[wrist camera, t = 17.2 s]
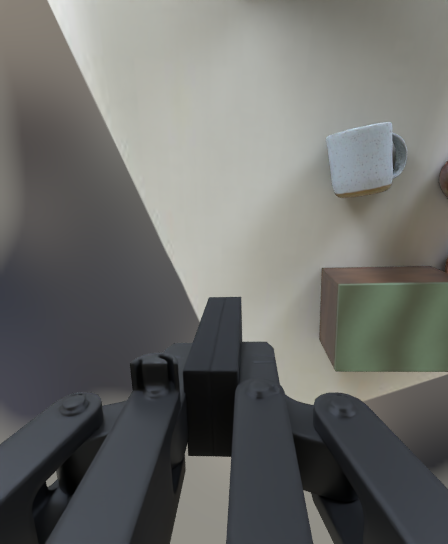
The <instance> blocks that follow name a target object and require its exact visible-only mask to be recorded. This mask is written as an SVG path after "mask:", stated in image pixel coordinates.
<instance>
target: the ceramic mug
mask: <svg viewBox="0 0 448 544" xmlns="http://www.w3.org/2000/svg"><path fill="white" fill-rule="evenodd" d="M326 141H327V148H328V156H329V164H330V170H331V179H332V186H333V189H334V193H335V195H336V196H338V197H340V198H349V197H358V196H364V195H371V194H375V193H379V192H383V191H386V190H387V189H389V188H390V186H391V183H392V179H393V178H395V177H397V176H398V175H400V174H401V172H402V171H403V169H404V167H405V165H406V161H407V147H406V144H405V141H404V140H403V139H402V137H400V136H399V135H397V134H395V133H392V123H391V122H384V123H376V124H372V125H368V126H363V127H359V128H354V129H349V130H345V131H342V132H339V133H335V134H333V135H330V136H328V137H327V138H326ZM392 142H393V143H394V145H395V148H396V162H395V168H394V170H393V164H392Z"/></svg>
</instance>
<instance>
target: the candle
mask: <svg viewBox="0 0 448 544" xmlns="http://www.w3.org/2000/svg"><path fill="white" fill-rule="evenodd" d="M439 183H440V187H441V190H442V191H443V193H444V194H445V195H446V197H447V198H448V161H447V162H446V163H445V165H444V167H443V168H442V170H441V172H440V178H439Z"/></svg>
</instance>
